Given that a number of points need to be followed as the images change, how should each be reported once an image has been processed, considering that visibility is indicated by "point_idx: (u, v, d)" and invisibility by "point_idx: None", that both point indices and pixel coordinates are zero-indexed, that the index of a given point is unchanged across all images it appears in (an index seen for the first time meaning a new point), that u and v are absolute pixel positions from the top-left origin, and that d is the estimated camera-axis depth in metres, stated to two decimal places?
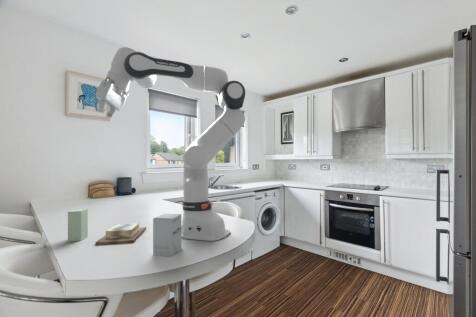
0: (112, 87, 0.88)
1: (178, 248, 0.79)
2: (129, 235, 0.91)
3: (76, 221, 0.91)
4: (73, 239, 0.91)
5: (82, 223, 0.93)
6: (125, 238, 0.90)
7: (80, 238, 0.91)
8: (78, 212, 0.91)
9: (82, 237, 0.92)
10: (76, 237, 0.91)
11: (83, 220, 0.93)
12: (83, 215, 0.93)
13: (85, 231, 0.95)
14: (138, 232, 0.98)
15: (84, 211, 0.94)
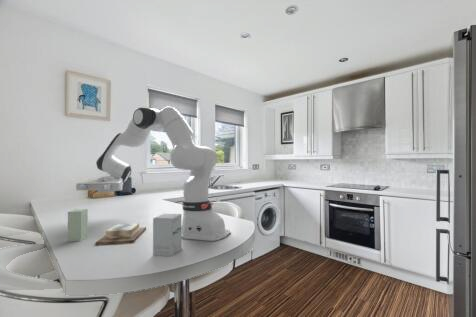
0: (88, 182, 1.15)
1: (178, 248, 0.79)
2: (129, 235, 0.91)
3: (76, 221, 0.91)
4: (73, 239, 0.91)
5: (82, 223, 0.93)
6: (125, 238, 0.90)
7: (80, 238, 0.91)
8: (78, 212, 0.91)
9: (82, 237, 0.92)
10: (76, 237, 0.91)
11: (83, 220, 0.93)
12: (83, 215, 0.93)
13: (85, 231, 0.95)
14: (138, 232, 0.98)
15: (84, 211, 0.94)
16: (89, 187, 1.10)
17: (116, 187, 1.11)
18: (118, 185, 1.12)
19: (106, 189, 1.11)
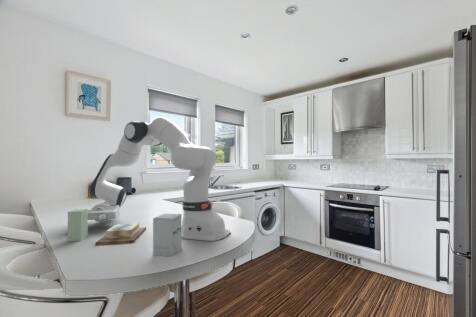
0: None
1: (178, 248, 0.79)
2: (129, 235, 0.91)
3: (76, 221, 0.91)
4: (73, 239, 0.91)
5: (82, 223, 0.93)
6: (125, 238, 0.90)
7: (80, 238, 0.91)
8: (78, 212, 0.91)
9: (82, 237, 0.92)
10: (76, 237, 0.91)
11: (83, 220, 0.93)
12: (83, 215, 0.93)
13: (85, 231, 0.95)
14: (138, 232, 0.98)
15: (84, 211, 0.94)
16: None
17: (112, 216, 1.06)
18: (114, 214, 1.06)
19: None
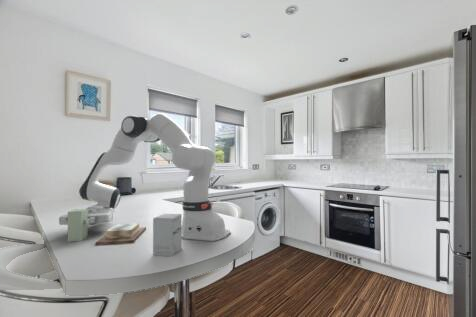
0: None
1: (178, 248, 0.79)
2: (129, 235, 0.91)
3: (76, 221, 0.91)
4: (73, 239, 0.91)
5: (82, 223, 0.93)
6: (125, 238, 0.90)
7: (80, 238, 0.91)
8: (78, 212, 0.91)
9: (82, 237, 0.92)
10: (76, 237, 0.91)
11: (83, 220, 0.93)
12: (83, 215, 0.93)
13: (85, 231, 0.95)
14: (138, 232, 0.98)
15: (84, 211, 0.94)
16: None
17: (104, 220, 0.98)
18: (107, 218, 0.99)
19: (93, 223, 0.98)
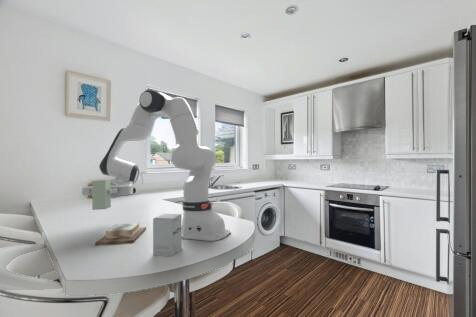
0: None
1: (178, 248, 0.79)
2: (129, 235, 0.91)
3: (100, 190, 0.92)
4: (98, 207, 0.92)
5: (106, 192, 0.94)
6: (125, 238, 0.90)
7: (104, 207, 0.93)
8: (102, 181, 0.93)
9: (106, 206, 0.94)
10: (101, 206, 0.92)
11: None
12: (107, 185, 0.95)
13: (108, 201, 0.96)
14: (138, 232, 0.98)
15: (107, 181, 0.95)
16: None
17: (127, 191, 1.00)
18: (129, 189, 1.00)
19: (116, 193, 0.99)
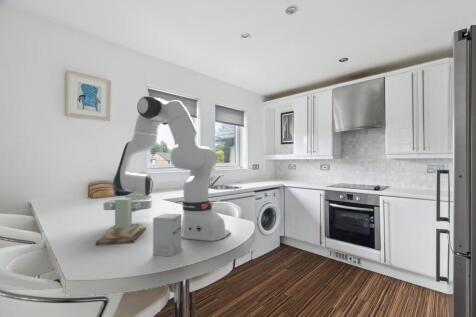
0: None
1: (178, 248, 0.79)
2: (129, 235, 0.91)
3: (123, 209, 0.94)
4: (120, 226, 0.93)
5: (128, 211, 0.95)
6: (125, 238, 0.90)
7: (127, 225, 0.94)
8: (125, 200, 0.94)
9: (128, 225, 0.95)
10: (123, 225, 0.94)
11: (128, 209, 0.96)
12: (129, 203, 0.96)
13: (130, 219, 0.97)
14: (138, 232, 0.98)
15: (129, 200, 0.97)
16: None
17: (147, 206, 1.01)
18: (149, 204, 1.02)
19: (136, 208, 1.00)
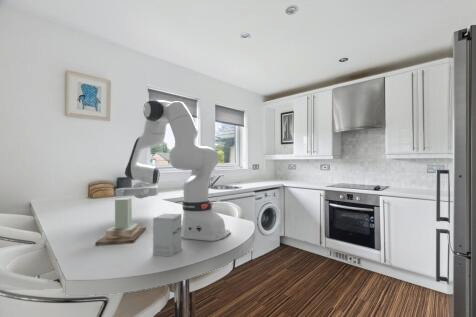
0: None
1: (178, 248, 0.79)
2: (129, 235, 0.91)
3: (123, 209, 0.94)
4: (120, 226, 0.93)
5: (128, 211, 0.95)
6: (125, 238, 0.90)
7: (127, 225, 0.94)
8: (125, 200, 0.94)
9: (128, 225, 0.95)
10: (123, 225, 0.94)
11: (128, 209, 0.96)
12: (129, 203, 0.96)
13: (130, 219, 0.97)
14: (138, 232, 0.98)
15: (129, 200, 0.97)
16: (128, 193, 1.13)
17: (154, 192, 1.14)
18: (156, 190, 1.14)
19: (144, 194, 1.13)
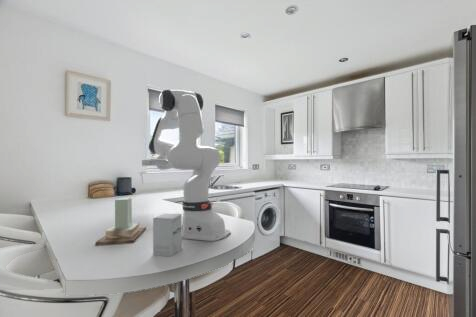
0: None
1: (178, 248, 0.79)
2: (129, 235, 0.91)
3: (123, 209, 0.94)
4: (120, 226, 0.93)
5: (128, 211, 0.95)
6: (125, 238, 0.90)
7: (127, 225, 0.94)
8: (125, 200, 0.94)
9: (128, 225, 0.95)
10: (123, 225, 0.94)
11: (128, 209, 0.96)
12: (129, 203, 0.96)
13: (130, 219, 0.97)
14: (138, 232, 0.98)
15: (129, 200, 0.97)
16: (153, 163, 1.24)
17: None
18: None
19: (168, 165, 1.25)
